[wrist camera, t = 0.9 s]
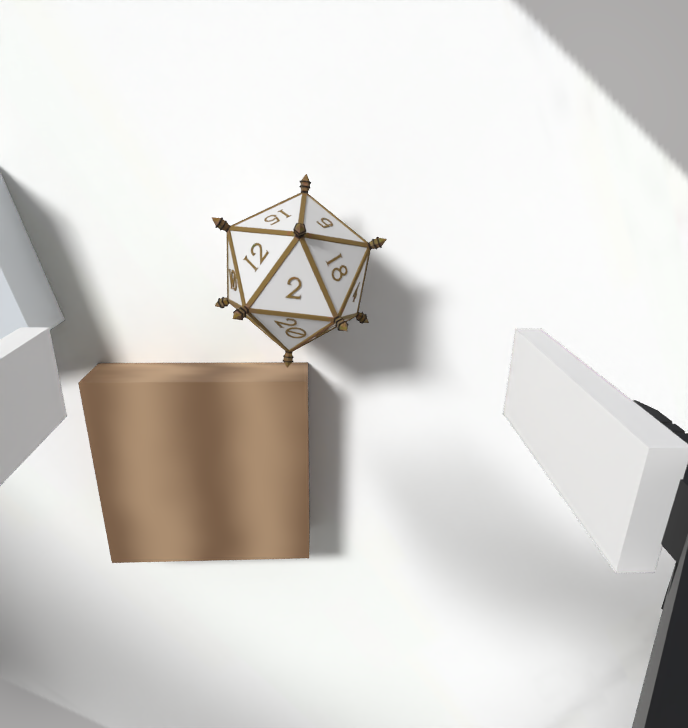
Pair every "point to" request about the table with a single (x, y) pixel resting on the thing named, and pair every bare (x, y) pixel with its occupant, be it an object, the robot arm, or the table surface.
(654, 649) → the robot arm
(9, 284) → the card box
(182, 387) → the plinth
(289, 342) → the game die
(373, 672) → the table surface
